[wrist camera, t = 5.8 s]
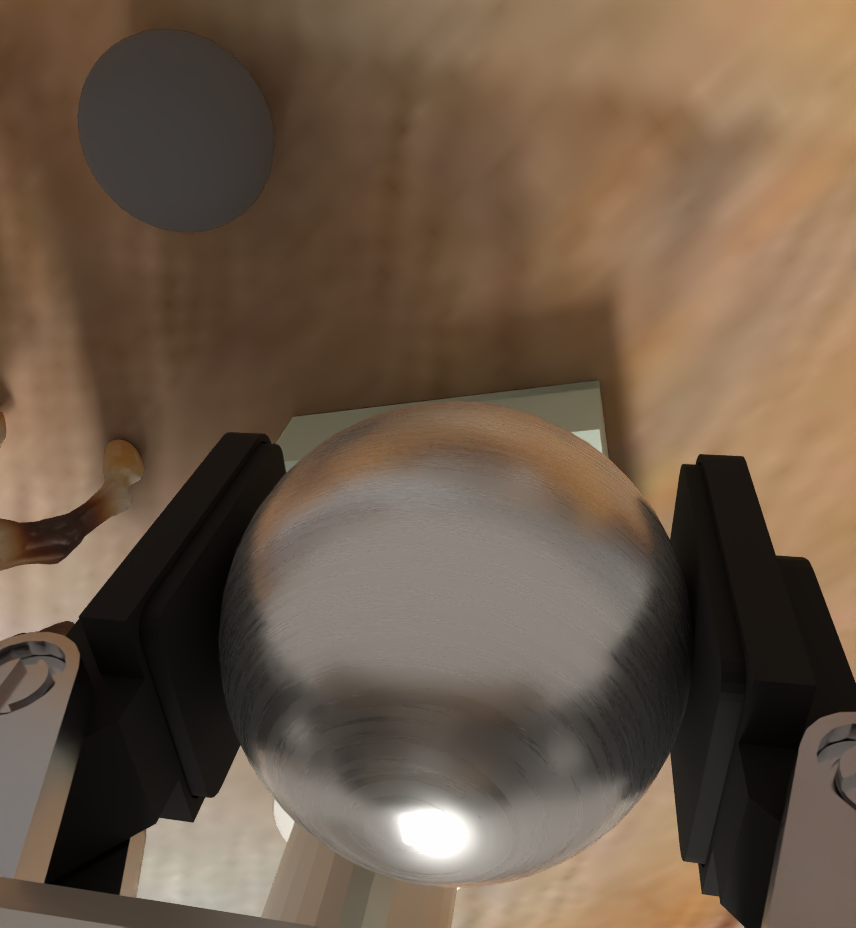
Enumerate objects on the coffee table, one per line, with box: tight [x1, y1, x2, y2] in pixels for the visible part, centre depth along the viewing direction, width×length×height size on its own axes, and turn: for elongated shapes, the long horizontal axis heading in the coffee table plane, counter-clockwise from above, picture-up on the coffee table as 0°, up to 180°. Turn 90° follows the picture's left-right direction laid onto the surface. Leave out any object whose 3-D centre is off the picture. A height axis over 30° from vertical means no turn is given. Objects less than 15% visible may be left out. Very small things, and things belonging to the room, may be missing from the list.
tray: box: [275, 380, 609, 473], centre depth 31 cm, size 12×12×4 cm
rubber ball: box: [78, 29, 274, 232], centre depth 23 cm, size 6×6×6 cm
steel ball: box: [218, 401, 693, 888], centre depth 9 cm, size 6×6×6 cm
